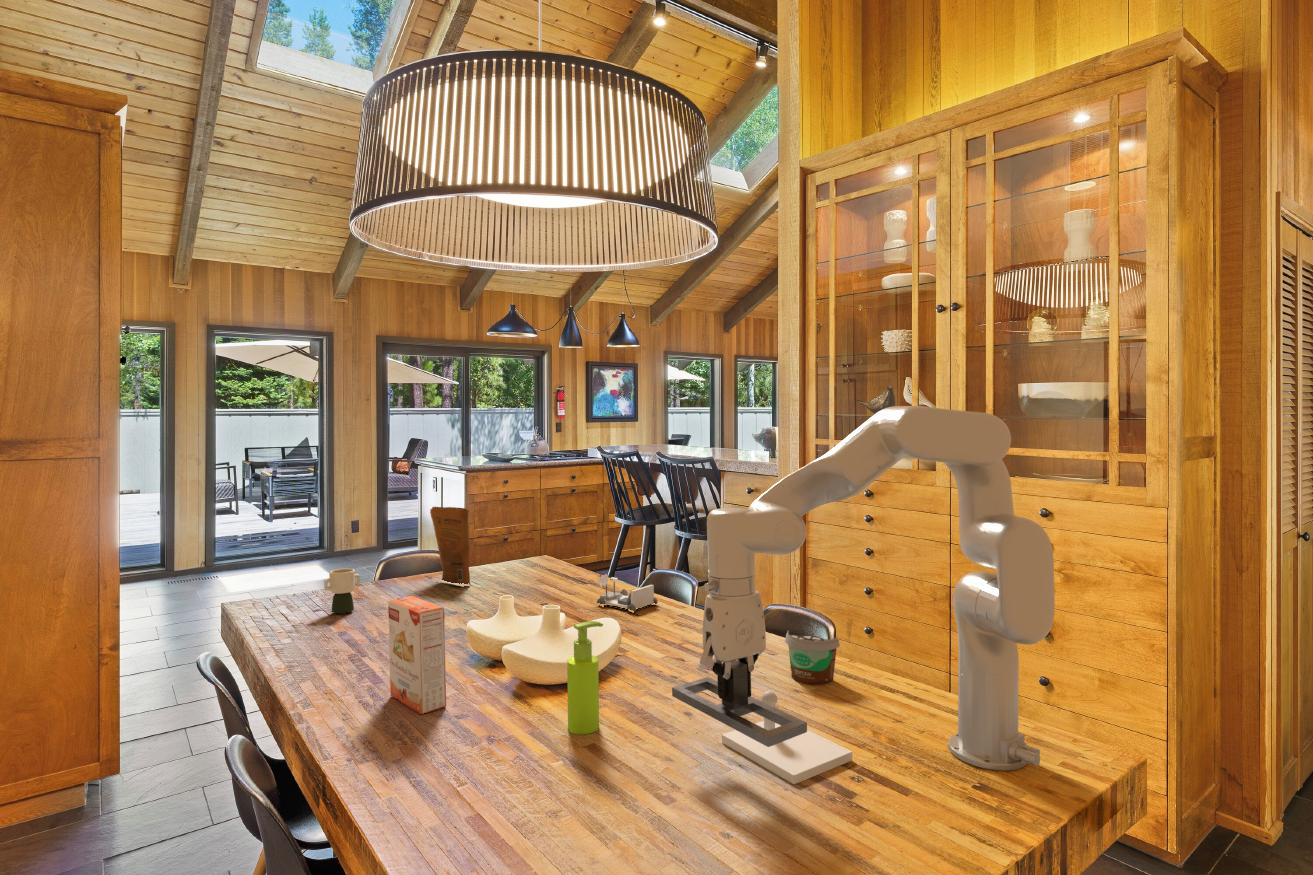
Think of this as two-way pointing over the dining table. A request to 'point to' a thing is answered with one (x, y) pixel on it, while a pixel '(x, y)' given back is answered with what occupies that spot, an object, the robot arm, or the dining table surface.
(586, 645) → the soap dispenser
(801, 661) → the food container
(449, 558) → the pancake mix bag
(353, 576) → the character mug
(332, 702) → the dining table surface
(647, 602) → the grey tabletop ornament
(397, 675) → the cracker box
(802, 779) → the white pegged base
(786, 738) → the grey frame with handle
